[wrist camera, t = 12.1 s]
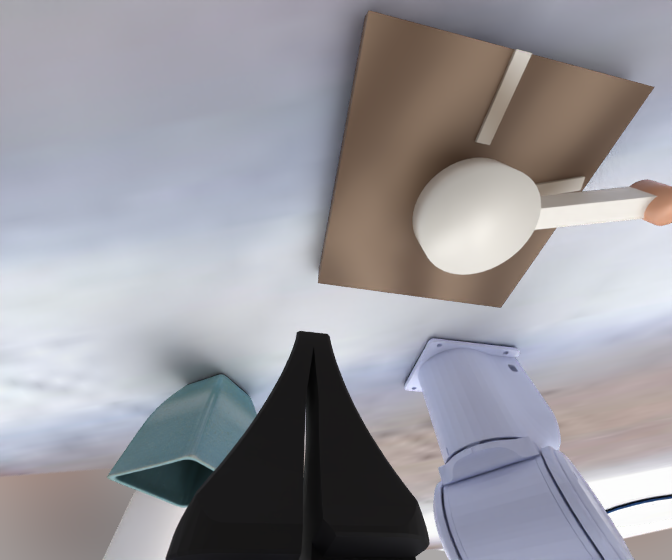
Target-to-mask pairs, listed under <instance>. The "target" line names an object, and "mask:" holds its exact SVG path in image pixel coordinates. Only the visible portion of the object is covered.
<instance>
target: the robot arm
mask: <svg viewBox="0 0 672 560" xmlns="http://www.w3.org/2000/svg"><path fill="white" fill-rule="evenodd" d="M519 354H520V351H519V349H518V348H513V347H504V346H496V345H487V344H478V343H470V342H461V341H452V340H444V339H431V340H429V341H428V343H427V345H426V347H425V349H424V350H423V352H422V354H421V356H420V358H419V360H418V361H417V363H416V365H415V367H414V369H413V370H412V372H411V374H410V376H409V378H408V380H407V381H406V383H405V385H404V386H405V389H406V390H409V391H420V392H423V395H424V398H425V401H426V405H427V408H428V411H429V414H430V418H431V421H432V424H433V427H434V430H435V434H436V437H437V440H438V443H439V447H440V450H441V453H442V456H443V460H444V463H445V465H443V466H441V467H439V468H438V469H439V473H440V476H441V480H442V481H440V482H439V483H438V484H437V485H436V488H435V493H434V501H433V508H434V517H435V522H436V527H437V531H438V534H439V537H440V540H441V543H442V546H443V548H444V551H445V553H446V555H447V557H448V559H449V560H635V559H634V558H633V556H632V555H631V553H630V551H629V549H628V547H627V546H626V543H625V542H624V540H623V538H622V536H621V535H620V533H619V531H618V530H617V528H616V526H615V525H614V523H613V522H612V520H611V518H610V517H609V515H608V514H607V512H606V511H605V509H604V508H603V506H602V505H601V503H600V501H599V500H598V498H597V497H596V496H595V494H594V493H593V491H592V490H591V488H590V487H589V485H588V484H587V482H586V481H585V480H584V478H583V477H582V475H581V474H580V473H579V471H578V470H577V468H576V467H575V466H574V464H573V463H572V462H571V461H570V459H569V458H568V457H567V456H566V455H565V454H564V453H563V452H560V451H559V448H560V442H561V438H560V431H559V426H558V423H557V420H556V418H555V416H554V414H553V412H552V410H551V409H550V407H549V406H548V404H547V403H546V401H545V400H544V398H543V397H542V395H541V394H540V392H539V391H538V390H537V388H536V387H535V385H534V384H533V382H532V381H531V379H530V378H529V376H528V375H527V374H526V372H525V371H524V369H523V368H522V366H521V365H520V363H519V362H518V360H517V359H516V358H517V356H518V355H519ZM305 410H306V452H305V465H304V436H305ZM303 475H304V478H303ZM428 545H429V537H428V532H427V528H426V525H425V521H424V518H423V515H422V512H421V510H420V507H419V504H418V502H417V500H416V499H415V497H414V496H413V495H412V493H411V492H410V491H409V490H408V488H407V487H406V486H405V484H404V483H403V482H402V480H401V479H400V478H399V476H398V475H397V474H396V472H395V471H394V469H393V468H392V467H391V465H390V464H389V462H388V461H387V459H386V458H385V457H384V455H383V453H382V452H381V450H380V449H379V447H378V446H377V444H376V442H375V441H374V439H373V438H372V436H371V435H370V433H369V431H368V429H367V428H366V426H365V424H364V422H363V421H362V419H361V417H360V415H359V413H358V411H357V409H356V407H355V405H354V403H353V401H352V399H351V397H350V395H349V393H348V390H347V388H346V386H345V383H344V381H343V378H342V376H341V373H340V371H339V368H338V365H337V362H336V359H335V356H334V353H333V349H332V346H331V341H330V336H329V335H328V334H323V333H314V332H305V331H299V332H297V335H296V340H295V343H294V346H293V349H292V352H291V354H290V357H289V359H288V361H287V363H286V365H285V368H284V370H283V372H282V374H281V376H280V377H279V379H278V381H277V383H276V385H275V387H274V388H273V390H272V392H271V394H270V395H269V397H268V399H267V400H266V402H265V403H264V405H263V407H262V408H261V410H260V411H259V413H258V414H257V416H256V417H255V419H254V420H253V421H252V423H251V424H250V426H249V427H248V429H247V430H246V431H245V433H244V434H243V435H242V437H241V438H240V439H239V441H238V442H237V443H236V445H235V446H234V447H233V448H232V450H231V451H230V452H229V453H228V455H227V456H226V457H225V459H224V460H223V461H222V462H221V463H220V465H219V466H218V467H217V468H216V469H215V470H214V472H213V473H212V474H211V475H210V476H209V477H208V479H207V480H206V481H205V482H204V483H203V484H202V486H201V487H200V488H199V489H198V490H197V492H196V494H195V495H194V497H193V498H192V500H191V502H190V503H189V505H188V507H187V508H186V510H185V512H184V514H183V516H182V517H181V519H180V521H179V523H178V525H177V528H176V530H175V532H174V535H173V537H172V540H171V543H170V546H169V549H168V552H167V555H166V558H165V559H166V560H416V558H415V557H416V556H417V555H418V554H420V553H421V552H422V551H424V550H425V549H426V548H427V547H428Z"/></svg>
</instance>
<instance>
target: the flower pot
mask: <svg viewBox="0 0 672 560" xmlns="http://www.w3.org/2000/svg"><path fill="white" fill-rule="evenodd" d="M256 416H257V414H256V411H255V408H254V405H253V403H252V401H251V398H250V397H249V395H247V394H246V393H245V392H244V391H243V390H241V389H240V388H239V387H238V386H237V385H236V384H234V383H233V382H232V381H231V380H230V379H229V378H228V377H227V376H225V375H223V374H220V375H216V376H213V377H210V378H207V379H204V380H201V381H198V382H195V383H192V384H189V385H186V386H185V387H183V388H182V389H180V390H179V391H177V392H176V393H175V394H173V395H172V396H171V397H169V398H168V399H167V400H166V401H164V402H163V403H162V404H161V405H160V406H159V407H158V408H157V409H156V410H155V411H154V412H153V413H152V414H151V415H150V417H149V418H148V419H147V420H146V422H145V423H144V424H143V426H142V427H141V428H140V430H139V431H138V433H137V434H136V435H135V437H134V438H133V440H132V441H131V443H130V444H129V445H128V447H127V448H126V450H125V451H124V453H123V454H122V456H121V457H120V458H119V460H118V461H117V463H116V464H115V466H114V467H113V469H112V470H111V472H110V473H109V475H108V476H107V477H108V479H110V480H113V481H115V482H117V483H120V484H122V485H125V486H127V487H130V488H132V489H135V490H137V491H140V492H142V493H145V494H147V495H150V496H153V497H155V498H158V499H160V500H163V501H165V502H167V503H170V504H172V505H175V506H178V507H181V508H187V507H188V505H189V503H190V502H191V500H192V498H193V497H194V495H195V494H196V492H197V490H198V489H199V488H200V487H201V486H202V484H203V483H204V482H205V481H206V480H207V479H208V477H209V476H210V475H211V474H212V473H213V472H214V470H215V469H216V468H217V467H218V466H219V465H220V463H221V462H222V461H223V460H224V459H225V457H226V456H227V455H228V453H229V452H230V451H231V450H232V448H233V447H234V446H235V445H236V443H237V442H238V441H239V439H240V438H241V437H242V435H243V434H244V433H245V431H246V430H247V429H248V427H249V426H250V424H251V423H252V421H253V420H254V419H255V417H256Z"/></svg>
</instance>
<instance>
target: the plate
mask: <svg viewBox="0 0 672 560" xmlns="http://www.w3.org/2000/svg"><path fill="white" fill-rule="evenodd" d="M669 501H672V496H669V497H662V498H655V499H650V500H645V501H640V502H636V503H632V504H628V505H625V506H621V507H618V508H615V509H613V510H610V511H607V514H608V515H609V516H610V515H613V514H616V513H619V512H622V511H626V510H629V509H633V508H637V507H641V506H646V505H651V504H656V503H662V502H669ZM670 527H672V519H668V520H664V521H660V522H655V523H649V524H643V525H635V526H616V528H617V530H618V531H619V533H620V534H634V533H642V532H649V531H655V530H660V529H666V528H670Z"/></svg>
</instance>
